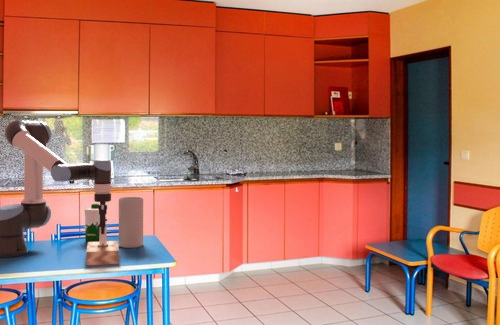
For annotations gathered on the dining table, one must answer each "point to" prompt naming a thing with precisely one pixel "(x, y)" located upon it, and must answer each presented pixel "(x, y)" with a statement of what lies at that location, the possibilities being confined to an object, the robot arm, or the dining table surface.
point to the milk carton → (92, 223)
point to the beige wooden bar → (103, 243)
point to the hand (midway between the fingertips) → (102, 238)
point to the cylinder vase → (130, 222)
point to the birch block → (102, 253)
